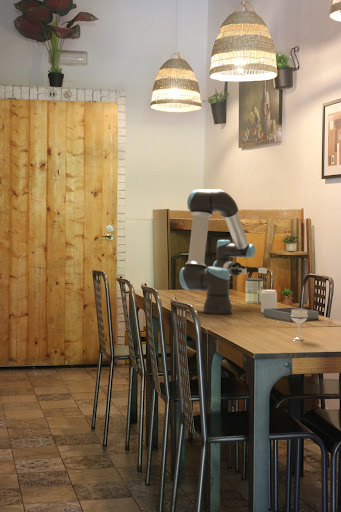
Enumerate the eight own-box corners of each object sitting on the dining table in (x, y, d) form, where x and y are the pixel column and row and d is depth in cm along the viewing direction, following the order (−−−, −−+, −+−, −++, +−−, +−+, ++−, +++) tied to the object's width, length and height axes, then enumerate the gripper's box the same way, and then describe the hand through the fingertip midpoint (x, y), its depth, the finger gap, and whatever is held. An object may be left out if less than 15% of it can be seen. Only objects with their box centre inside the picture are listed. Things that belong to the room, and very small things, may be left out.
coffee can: (245, 301, 428) (245, 277, 427) (262, 301, 427) (263, 278, 426) (245, 303, 418) (245, 279, 417) (262, 303, 417) (263, 279, 416)
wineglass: (304, 338, 291) (305, 309, 290) (308, 341, 284) (309, 311, 284) (288, 338, 291) (289, 309, 290) (291, 341, 284) (292, 311, 283)
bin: (288, 321, 341) (288, 313, 341) (263, 316, 357) (263, 308, 357) (318, 319, 351) (318, 311, 350) (292, 314, 367) (293, 307, 367)
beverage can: (276, 314, 367) (276, 291, 367) (260, 313, 369) (260, 290, 368) (276, 312, 375) (277, 289, 375) (261, 311, 377) (262, 289, 376)
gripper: (250, 274, 406) (274, 277, 388) (214, 275, 393) (237, 279, 375) (250, 261, 406) (274, 263, 387) (214, 262, 393) (237, 264, 375)
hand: (256, 271), depth 381 cm, fingers open, 13 cm apart
